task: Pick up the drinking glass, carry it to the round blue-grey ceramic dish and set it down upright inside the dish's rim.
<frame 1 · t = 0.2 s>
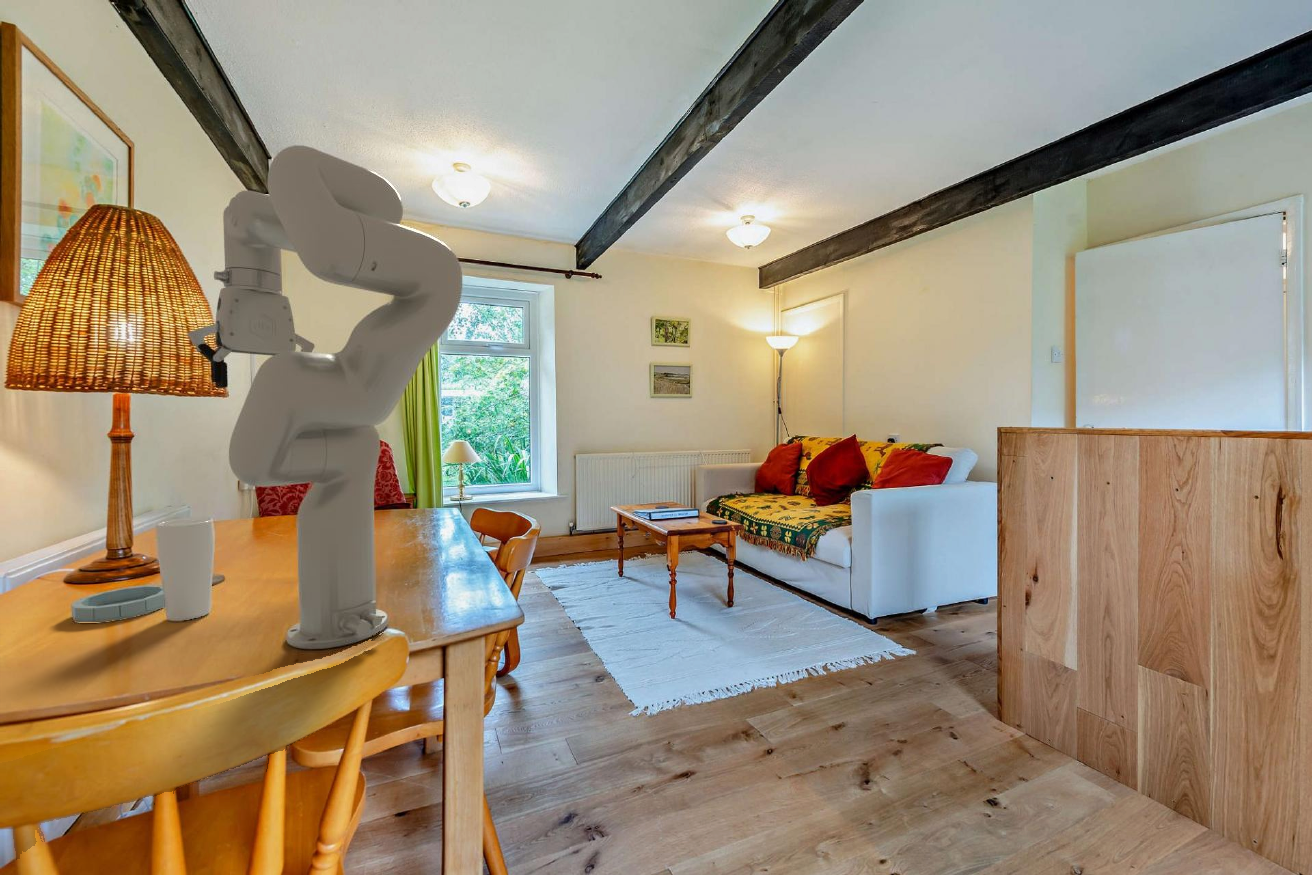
hand: (257, 388, 88), 36 cm above the table, tool pointing down, fingers open, 9 cm apart
walnut coaster: (193, 583, 99), on the table
drinking glass: (189, 617, 83), on the table
round dish: (123, 610, 85), on the table
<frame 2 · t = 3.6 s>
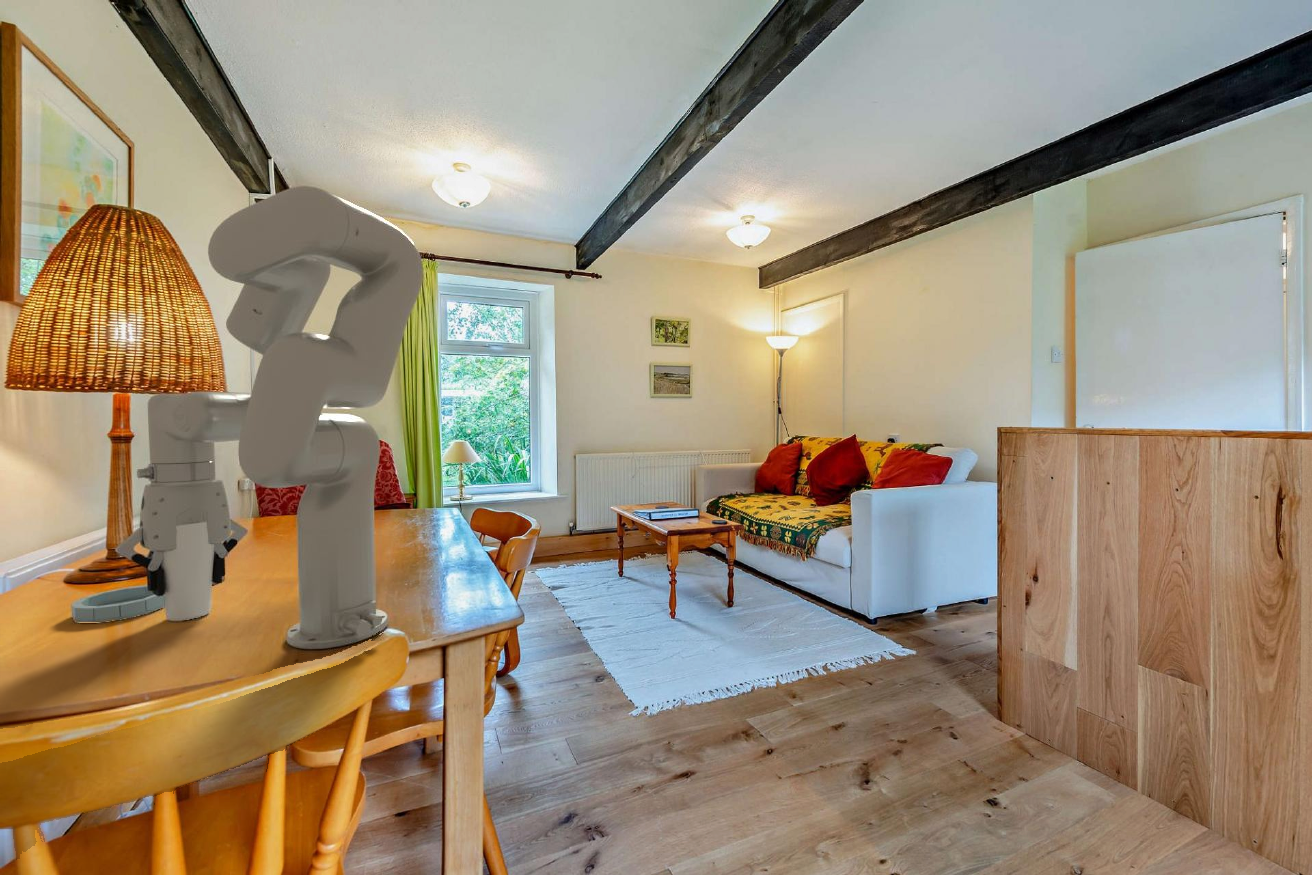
hand: (188, 586, 83), 5 cm above the table, tool pointing down, fingers closed on drinking glass, 6 cm apart
drinking glass: (189, 617, 83), on the table, touching gripper
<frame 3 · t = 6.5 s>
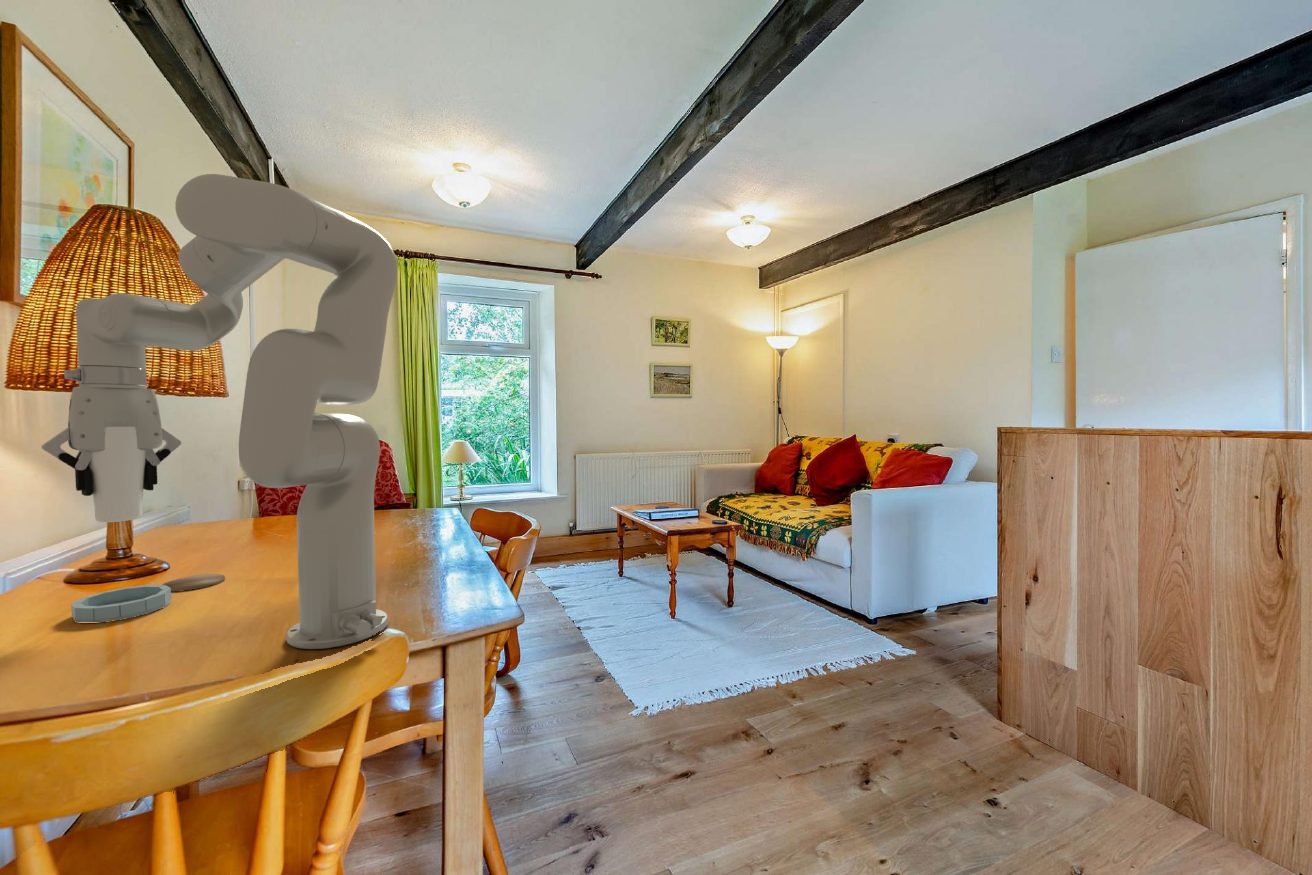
hand: (118, 491, 85), 19 cm above the table, tool pointing down, fingers closed on drinking glass, 6 cm apart
drinking glass: (119, 521, 85), point 15 cm above the table, touching gripper
when the fingers open (7 cm above the table, at t = 9.5 s): drinking glass drops 1 cm, resting on round dish.
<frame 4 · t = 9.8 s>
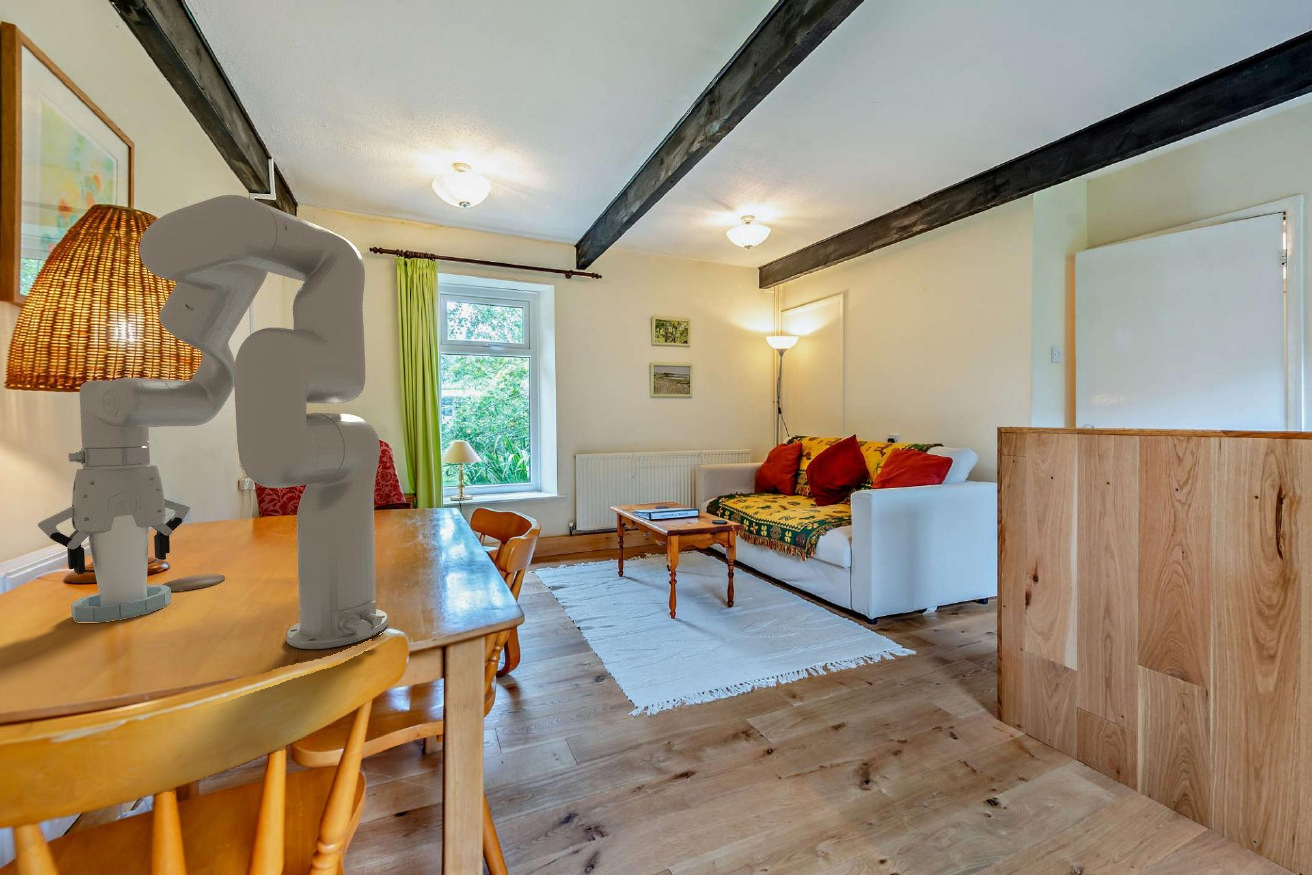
hand: (121, 565, 85), 7 cm above the table, tool pointing down, fingers open, 9 cm apart
drinking glass: (124, 607, 85), resting on round dish
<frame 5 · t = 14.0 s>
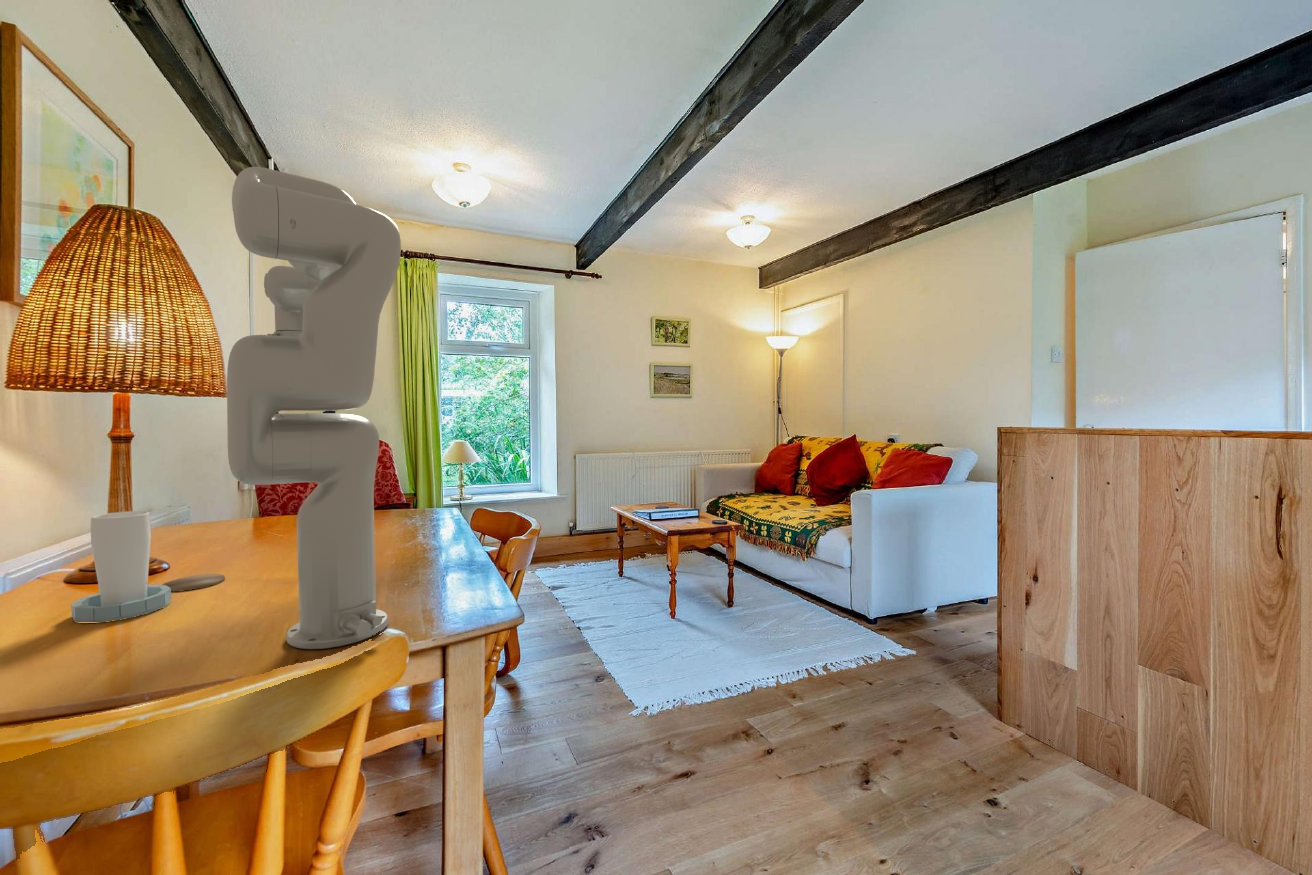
hand: (302, 431, 103), 28 cm above the table, tool pointing down, fingers open, 9 cm apart
nothing on the table moved.
at the end: drinking glass 0.2 cm from the round dish (horizontally); drinking glass resting on round dish; drinking glass tilted 0° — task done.
